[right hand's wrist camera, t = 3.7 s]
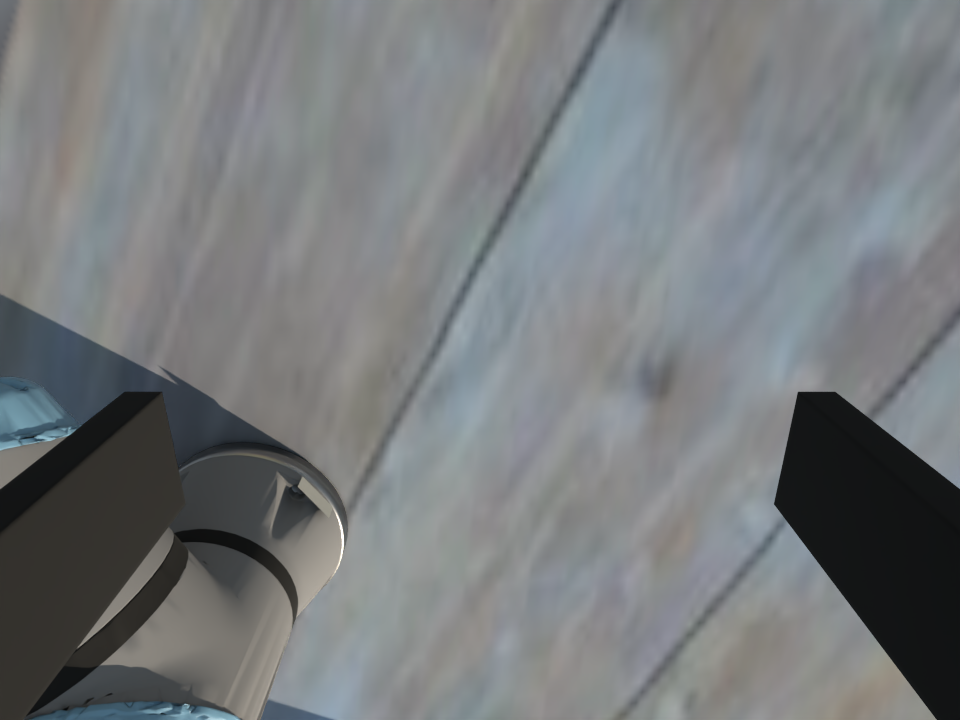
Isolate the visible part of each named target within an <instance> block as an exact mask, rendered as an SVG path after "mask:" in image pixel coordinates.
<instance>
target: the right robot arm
mask: <svg viewBox="0 0 960 720" xmlns="http://www.w3.org/2000/svg"><path fill="white" fill-rule="evenodd" d="M774 505H775V506H776V507H777V509H778V510H779V511H780V513H781V514H782V515H783V517H784V518H785V519H786V521H787V522H788V523H789V525H790V526H791V527H792V529H793V530H794V531H795V532H796V534H797V535H798V536H799V538H800V539H801V540H802V542H803V543H804V544H805V546H806V547H807V548H808V550H809V551H810V552H811V554H812V555H813V556H814V558H815V559H816V560H817V562H818V563H819V564H820V566H821V567H822V568H823V570H824V571H825V572H826V574H827V575H828V576H829V578H830V579H831V580H832V581H833V583H834V584H835V585H836V587H837V588H838V589H839V591H840V592H841V593H842V595H843V596H844V597H845V599H846V600H847V601H848V603H849V604H850V605H851V607H852V608H853V609H854V611H855V612H856V613H857V615H858V616H859V617H860V619H861V620H862V621H863V623H864V624H865V625H866V627H867V628H868V629H869V631H870V632H871V633H872V634H873V636H874V637H875V638H876V640H877V641H878V642H879V644H880V645H881V646H882V648H883V649H884V650H885V652H886V653H887V654H888V656H889V657H890V658H891V660H892V661H893V662H894V664H895V665H896V666H897V668H898V669H899V670H900V672H901V673H902V674H903V676H904V677H905V678H906V680H907V681H908V682H909V684H910V685H911V686H912V687H913V689H914V690H915V691H916V693H917V694H918V695H919V697H920V698H921V699H922V701H923V702H924V703H925V705H926V706H927V707H928V709H929V710H930V711H931V713H932V714H933V715H934V717H935V718H936V719H937V720H960V489H959V488H958V487H956V486H955V485H954V484H953V483H951V482H950V481H949V480H947V479H946V478H945V477H944V476H942V475H941V474H940V473H938V472H937V471H936V470H935V469H933V468H932V467H931V466H929V465H928V464H927V463H926V462H924V461H923V460H922V459H921V458H919V457H918V456H917V455H915V454H914V453H913V452H912V451H910V450H909V449H908V448H906V447H905V446H904V445H903V444H901V443H900V442H899V441H897V440H896V439H895V438H894V437H892V436H891V435H890V434H889V433H887V432H886V431H885V430H883V429H882V428H881V427H880V426H878V425H877V424H876V423H874V422H873V421H872V420H871V419H869V418H868V417H867V416H865V415H864V414H863V413H862V412H860V411H859V410H858V409H856V408H855V407H854V406H853V405H851V404H850V403H849V402H848V401H846V400H845V399H844V398H842V397H841V396H840V395H839V394H837V393H836V392H798V395H797V399H796V404H795V409H794V413H793V418H792V423H791V427H790V432H789V437H788V441H787V446H786V451H785V455H784V460H783V465H782V469H781V474H780V479H779V483H778V488H777V493H776V497H775V502H774ZM347 533H348V522H347V516H346V512H345V508H344V506H343V503H342V501H341V499H340V497H339V495H338V493H337V491H336V490H335V488H334V487H333V485H332V484H331V483H330V482H329V480H328V479H327V478H326V477H325V476H324V475H323V474H322V473H321V472H320V471H319V470H317V469H316V468H315V467H314V466H312V465H311V464H310V463H308V462H307V461H305V460H304V459H302V458H300V457H298V456H296V455H294V454H292V453H290V452H288V451H285V450H283V449H280V448H276V447H273V446H269V445H264V444H258V443H245V442H242V443H229V444H223V445H218V446H215V447H212V448H209V449H206V450H204V451H202V452H199V453H198V454H196V455H194V456H193V457H191V458H190V459H188V460H187V461H186V462H185V463H184V464H183V465H182V466H180V468H179V469H178V465H177V460H176V455H175V451H174V446H173V441H172V437H171V432H170V427H169V423H168V418H167V413H166V409H165V404H164V399H163V395H162V392H124V393H123V394H121V395H120V396H119V397H118V398H116V399H115V400H114V401H112V402H111V403H110V404H109V405H107V406H106V407H105V408H103V409H102V410H101V411H100V412H98V413H97V414H96V415H95V416H93V417H92V418H91V419H89V420H88V421H87V422H86V423H84V424H83V425H81V424H79V423H78V422H77V421H76V420H75V419H74V418H73V417H72V416H71V415H70V414H69V413H68V412H67V411H66V410H65V409H64V408H63V407H62V406H61V405H60V404H59V403H58V402H57V401H56V400H55V399H54V398H53V397H52V396H51V395H50V394H49V393H48V392H47V391H46V390H45V389H44V388H43V387H41V386H40V385H38V384H37V383H35V382H33V381H31V380H28V379H24V378H19V377H0V720H261V717H262V714H263V711H264V708H265V705H266V702H267V700H268V697H269V694H270V691H271V688H272V685H273V682H274V679H275V676H276V673H277V671H278V668H279V665H280V662H281V659H282V656H283V653H284V650H285V647H286V645H287V642H288V639H289V636H290V633H291V630H292V627H293V624H294V622H295V619H296V617H297V616H298V615H299V614H300V613H301V612H302V610H303V609H304V608H305V607H306V606H307V605H308V604H309V603H310V601H311V600H312V599H313V598H314V597H315V596H316V594H317V593H318V592H319V591H320V590H321V589H322V588H323V587H324V586H325V585H326V584H327V583H328V582H329V581H330V579H331V578H332V577H333V575H334V574H335V572H336V570H337V568H338V566H339V564H340V561H341V558H342V554H343V551H344V548H345V545H346V540H347Z"/></svg>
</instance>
